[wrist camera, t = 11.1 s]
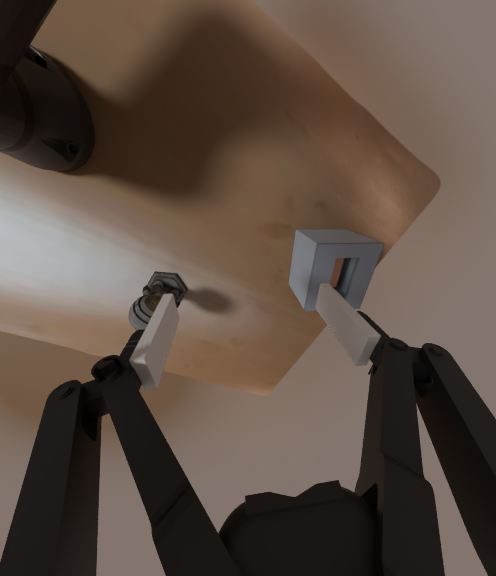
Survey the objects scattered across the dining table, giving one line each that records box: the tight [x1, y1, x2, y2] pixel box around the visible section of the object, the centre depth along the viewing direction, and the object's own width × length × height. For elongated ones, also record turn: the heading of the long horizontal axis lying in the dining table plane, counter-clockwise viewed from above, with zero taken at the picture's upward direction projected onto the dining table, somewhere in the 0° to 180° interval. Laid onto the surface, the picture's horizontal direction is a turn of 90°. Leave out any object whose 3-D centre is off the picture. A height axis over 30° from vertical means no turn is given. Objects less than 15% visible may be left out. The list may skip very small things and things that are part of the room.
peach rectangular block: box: [329, 258, 344, 287], centre depth 41 cm, size 7×3×8 cm, turn 179°
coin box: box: [289, 229, 384, 311], centre depth 40 cm, size 14×12×12 cm
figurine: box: [129, 272, 188, 331], centre depth 39 cm, size 9×10×15 cm
